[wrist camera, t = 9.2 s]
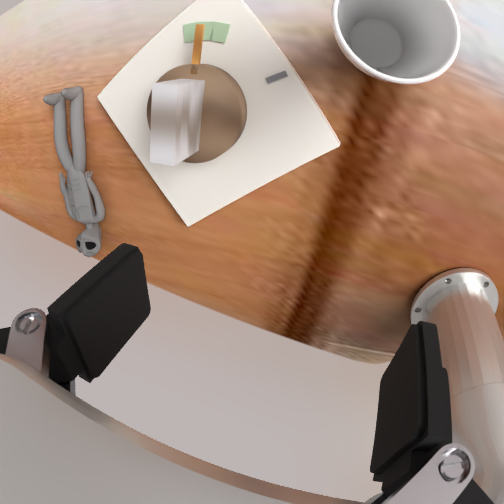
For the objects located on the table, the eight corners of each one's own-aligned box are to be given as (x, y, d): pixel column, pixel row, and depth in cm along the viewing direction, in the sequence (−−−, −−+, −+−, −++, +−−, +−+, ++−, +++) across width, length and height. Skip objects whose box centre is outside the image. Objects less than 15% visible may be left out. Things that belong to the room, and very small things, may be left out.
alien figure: (68, 86, 29) (104, 266, 42) (94, 82, 33) (123, 249, 46) (32, 99, 31) (69, 258, 44) (57, 93, 35) (88, 243, 48)
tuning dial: (240, 165, 32) (213, 191, 26) (155, 149, 33) (117, 171, 27) (259, 29, 23) (233, 19, 18) (163, 26, 25) (120, 23, 19)
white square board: (340, 142, 29) (339, 146, 28) (193, 221, 39) (187, 227, 38) (228, -17, 23) (222, -20, 21) (104, 94, 33) (95, 97, 31)
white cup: (347, 82, 26) (348, 92, 14) (330, 16, 22) (312, -29, 10) (416, 75, 23) (473, 84, 11) (399, 9, 20) (441, -37, 8)
